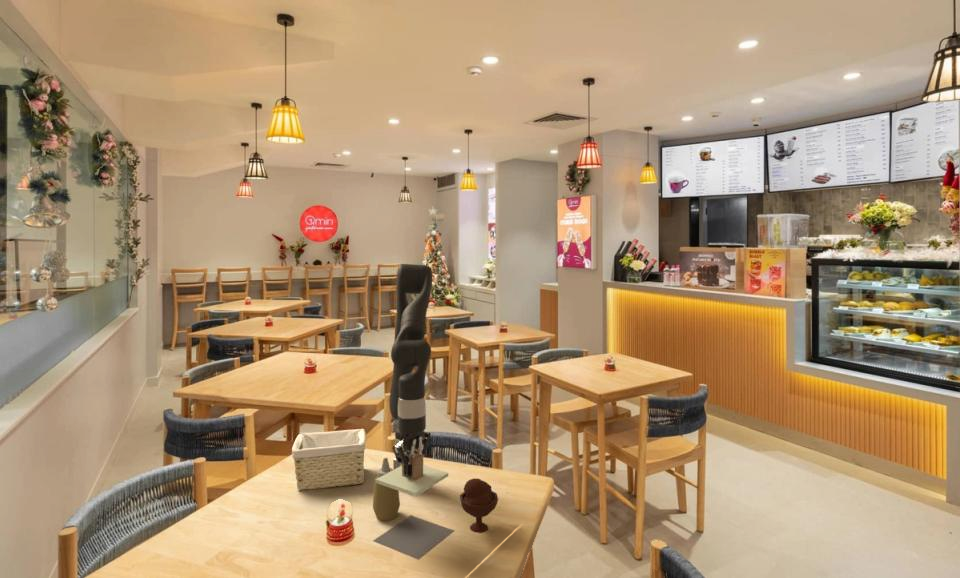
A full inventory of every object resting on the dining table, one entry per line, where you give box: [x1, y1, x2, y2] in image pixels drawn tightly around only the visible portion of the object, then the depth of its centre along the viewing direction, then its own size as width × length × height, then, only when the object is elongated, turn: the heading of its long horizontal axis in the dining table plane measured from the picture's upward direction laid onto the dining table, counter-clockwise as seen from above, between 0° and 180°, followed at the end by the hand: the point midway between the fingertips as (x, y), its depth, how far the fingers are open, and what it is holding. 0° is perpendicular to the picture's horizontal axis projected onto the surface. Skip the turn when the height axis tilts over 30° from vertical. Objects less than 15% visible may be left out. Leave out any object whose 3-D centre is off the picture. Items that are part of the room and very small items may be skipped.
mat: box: [372, 514, 455, 561], centre depth 144 cm, size 16×16×1 cm
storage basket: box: [291, 428, 367, 490], centre depth 180 cm, size 24×16×15 cm
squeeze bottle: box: [372, 457, 401, 522], centre depth 154 cm, size 8×8×18 cm
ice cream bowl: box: [459, 478, 499, 534], centre depth 147 cm, size 11×11×15 cm
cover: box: [375, 451, 449, 498], centre depth 142 cm, size 14×14×7 cm
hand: (412, 473), depth 143 cm, fingers closed on cover, 3 cm apart
